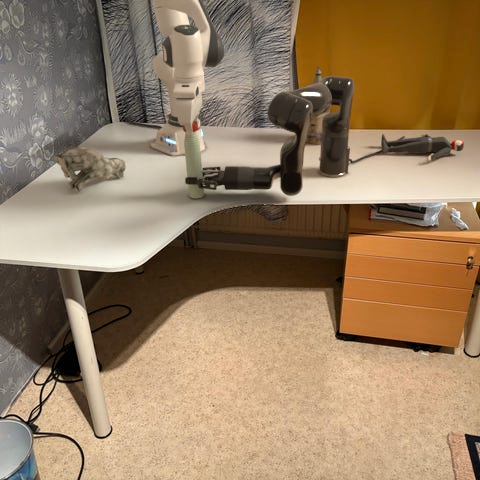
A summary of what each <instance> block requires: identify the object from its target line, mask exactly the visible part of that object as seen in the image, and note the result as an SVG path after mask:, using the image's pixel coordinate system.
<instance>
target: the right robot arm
mask: <svg viewBox="0 0 480 480" xmlns="http://www.w3.org/2000/svg"><path fill="white" fill-rule="evenodd" d="M310 84H311V85H310ZM310 84H308V85H306V86H304V87H301V88H297V89H294V90H284V91H280V92H278V93H277V94H275V96H274V97H272V99H271V101H270V102H269V104H268V106H267V111H266V115H267V119H268V121H269V122H270V123H271V124H272V125H273V126H275V127H277V128H280V129H283V130H285V131H287V132H290V133H294V134H293V136H292V137H290V138H289V139H287V140H286V141H285V142H284V143H283V144H282V146H281V148H280V151H279V164H276V165H271V166H268V167H259V166H258V167H256V166H255V167H254V166H241V165H240V166H237V165H236V166H234V165H226V166H225V167H224V170H221V166H208V167H202V175H203V177H198V178H197V177H187V176H186V177H185V178H184V182H185V184H184V185H188V184H191V185H198V187H199V188H202V189H204V190H210V191H211V190H212V191H216V190H217V187H220V186H224V187H223V188H224V190H226V191H252V190H257V191H258V190H260V191H261V190H263V191H265V190H266V191H267V190H271V188H272V187H273V184H274V181H275V180H278V179H279V181H280V182H279V183H280V184H279V187H280V190H281V192H282V193H283V194H284V195H286V196H287V197H288V196H289V197H295V196H297V195H299V194H300V193H301V192H302V190H303V183H304V181H303V178H304V177H303V175H304V173H303V172H304V171H303V168H304V159H305V158H304V157H305V148H306V144H307V137H308V133H309V129H310V125H311V121H312V117H316V116H318V115H320V114H322V113H324V112H325V111H327V110H328V109H329V107H330V105H332V106H336V107H338V106H339V110H337V111H335V112H330V114H327V115H325V116H324V117H323V120H322V135H321V138H320V139H321V144H320V153H319V157H318V161H319V165H318V168H319V169H318V173H319V174H320V175H322V176H324V177H329V178H339V177H343V176H345V175H346V174H349V166H350V164H356V163H358V162H360V161H362V160H364V159H367V158H370V157H372V156H373V157H374V156H376V155H378V154H382V149H380V150H378V151H375V152H373V153H369V154H366V155H364V156H361V157H359V158H357V159H355V160H353V159H352V158H350V154H351V147H350V146H349V138H350V137H349V134H350V127H351V126H350V125H351V117H352V110H353V109H352V107H353V102H354V94H355V81H354V79H353V78H352V77H347V76H337V75H327V76H325V77H323V78H322V80H320V81H319V82H318V83H315V84H313V83H310ZM403 139H406V136H405V135H403V136H401V137H400V138H398V139H397V140H403ZM388 147H389V146H388ZM390 147H392V146H390ZM202 185H203V186H202Z"/></svg>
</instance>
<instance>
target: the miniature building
mask: <svg viewBox="0 0 480 480" xmlns="http://www.w3.org/2000/svg"><path fill="white" fill-rule="evenodd" d="M320 67H321V66H320V65H317V66H316V68H317V69H316V71H315V72H314V75H315V76H314V79H313V81H312V83H310V84H309V85H311V84H315V83H318V82H319V81H320V80H322V79H323V78H322V71H321V70H320ZM332 106H333V105H330V107H329V109H328V110H327V111H325V112H324V113H322V114H320V115H318V116H316V117H312V121H311V125H310V129H309V133H308V137H307V141H306V143H309V144H314V145H321V135H322V120H323V117H324V116H325V115H327V114H330V113H331V108H332Z"/></svg>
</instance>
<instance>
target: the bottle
mask: <svg viewBox="0 0 480 480" xmlns="http://www.w3.org/2000/svg"><path fill="white" fill-rule="evenodd" d="M185 133H186V132H185ZM184 148H185V155H184V156H185V167H186V177H197V178H198V177H203V175H202V168H203V165H202V153H201V152H202V151H200V141H199V138H198V135H197V133H196V131H195V132H193V134H192V136H187V135H186V134H185V138H184ZM202 186H204V185H202ZM187 189H188V196H189V198H191V199H201V198H203V197H204V196H205V189H202V188H199V187H198V185H191V184H187Z"/></svg>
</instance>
